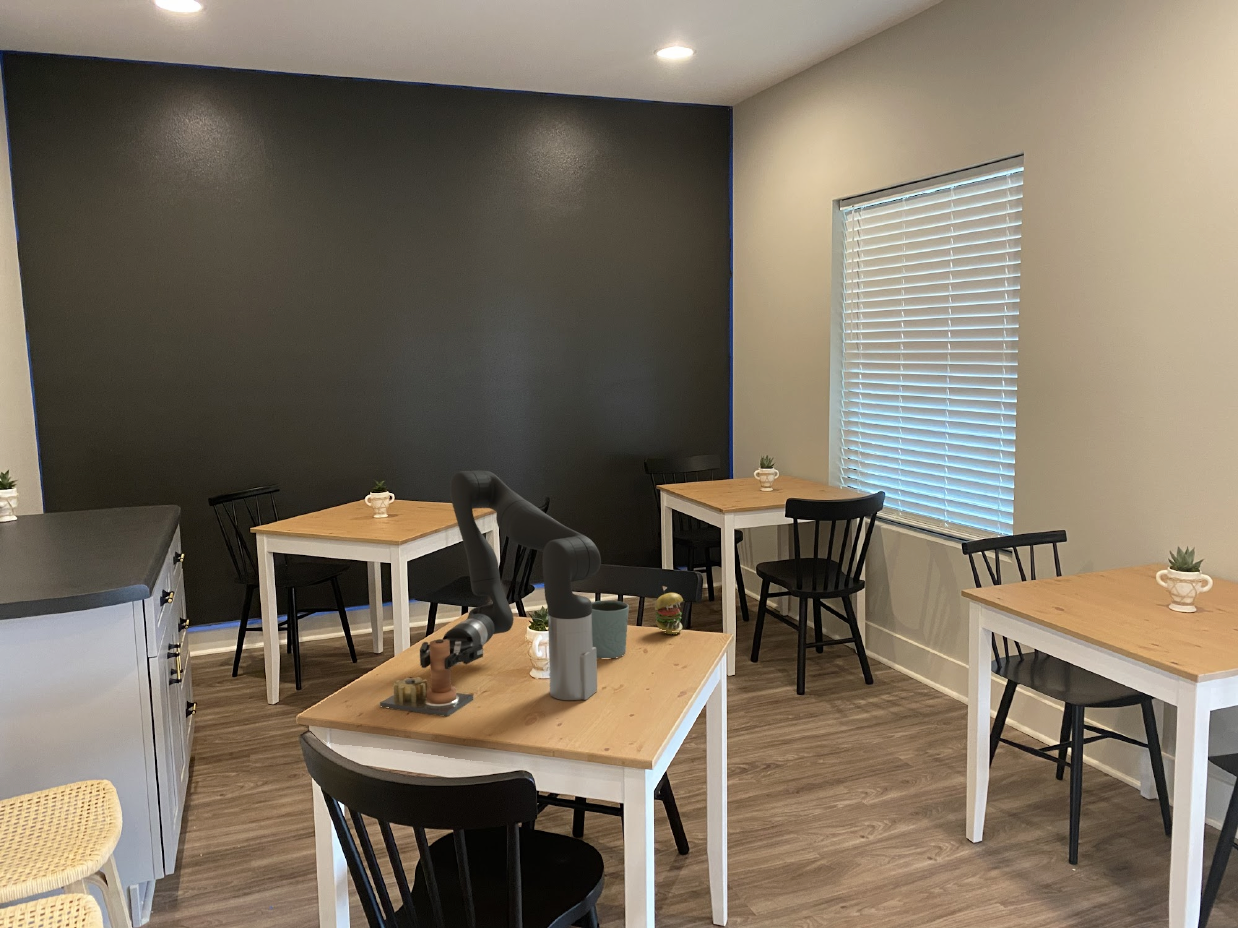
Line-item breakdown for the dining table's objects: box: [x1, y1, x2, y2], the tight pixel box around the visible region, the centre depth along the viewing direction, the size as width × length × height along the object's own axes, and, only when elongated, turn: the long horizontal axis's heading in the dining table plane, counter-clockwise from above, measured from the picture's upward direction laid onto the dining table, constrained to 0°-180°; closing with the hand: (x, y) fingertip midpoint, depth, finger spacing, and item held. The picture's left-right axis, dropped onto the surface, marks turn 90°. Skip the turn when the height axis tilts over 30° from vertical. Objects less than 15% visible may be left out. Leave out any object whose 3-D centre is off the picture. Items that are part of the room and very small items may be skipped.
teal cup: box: [591, 599, 630, 659], centre depth 219 cm, size 10×10×12 cm
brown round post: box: [426, 638, 457, 704], centre depth 186 cm, size 6×6×12 cm
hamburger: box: [654, 585, 684, 635], centre depth 237 cm, size 8×7×12 cm
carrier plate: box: [379, 692, 474, 717], centre depth 188 cm, size 16×10×1 cm, turn 69°
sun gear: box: [392, 676, 428, 702], centre depth 190 cm, size 7×7×3 cm
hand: (434, 663), depth 184 cm, fingers open, 4 cm apart
